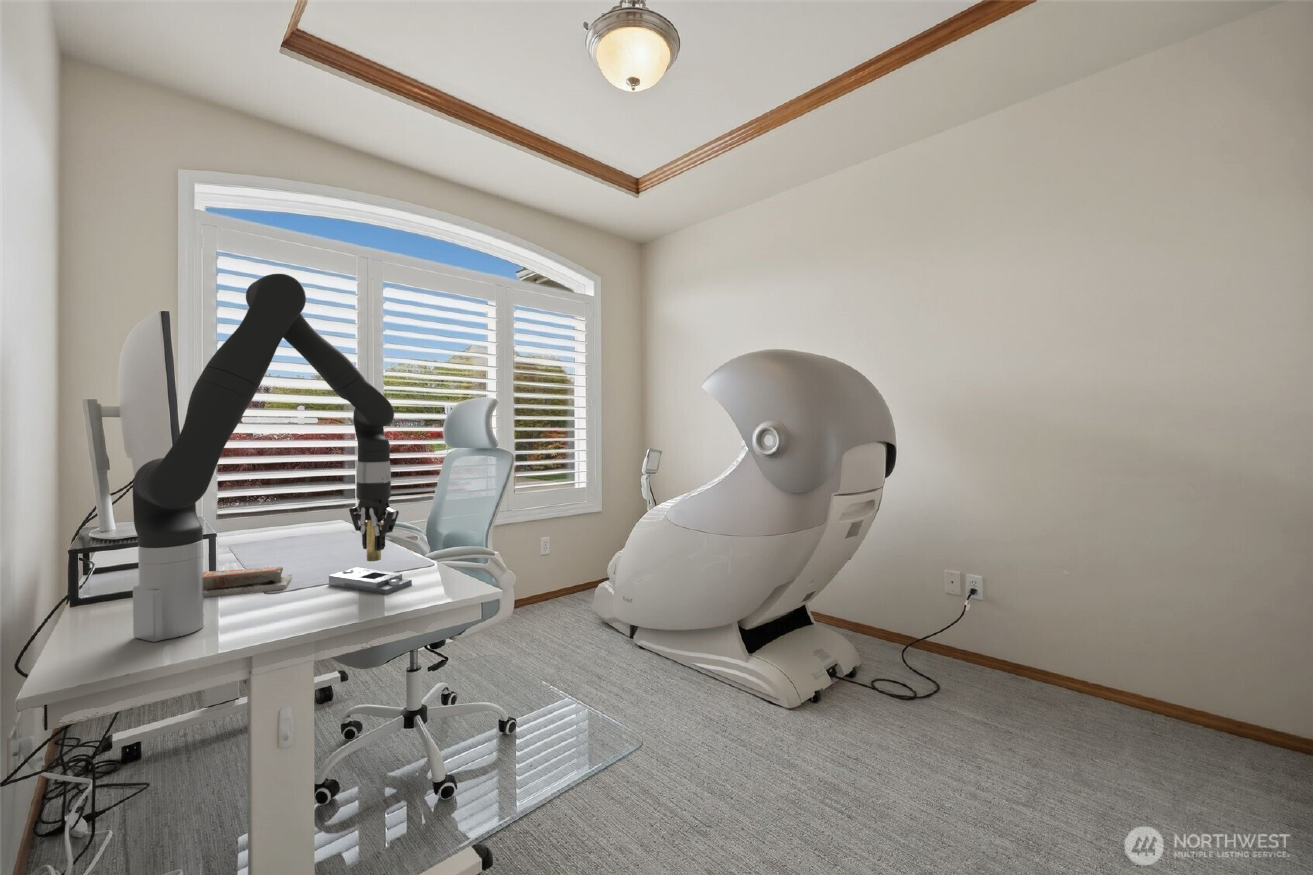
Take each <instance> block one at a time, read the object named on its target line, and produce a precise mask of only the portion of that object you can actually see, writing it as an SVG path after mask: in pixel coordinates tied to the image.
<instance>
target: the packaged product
mask: <svg viewBox="0 0 1313 875" xmlns="http://www.w3.org/2000/svg"><path fill="white" fill-rule="evenodd" d="M283 570H284V567H282V566H271V567H258V568H255V567H254V568H253V567H252V568H241V569H240V568H239V569H227V570H224V569H223V570H214V571H213V570H212V571H210V570H209V571H203V598H209V597H210V598H211V597H220V596H230V595H242V594H252V593H253V594H254V593H263V592H271V591H272V592H273V591H280V590H286V588H287V587H288V586H289V584H290V583H291V581H292V579H293V574H288V575H282V573H283Z"/></svg>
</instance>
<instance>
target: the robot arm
mask: <svg viewBox="0 0 1313 875" xmlns="http://www.w3.org/2000/svg"><path fill="white" fill-rule="evenodd" d="M306 297H307V294H306V291H305V289H304V287H303V285H302V284H301V282H300V281H299V280H298V279H296V278H295V277H293V276H292V275H289V274H285V273H271V274H267V275H265V276H263V277H261V278H258V279H257V280H256V281H254V282H252V283H251V284H249V286H248V288H247V289H246V292H245V301H246V304H247V306H248V310H247V312H246V314H245V316H244V318H243V319H242V321H241V322H240V324H239V326H238V327H237V328H236V329H235V331H233V332H232V333H231V335H230V336H229V337H228V338H227V339H226V340H225V342H223V343H222V344H221V346H220V347H219V348H218V349H217V351H216V352H215V353H214V354H213V356H212V357H211V358H210V360H209V361H208V362H207V364H206V366H205V367H204V369H203V370H202V372H201V374H200V375H199V378H198V379H197V381H195V384H194V387H193V388H192V391H191V393H190V395H189V396H190V397H189V401H188V404H187V410H186V414H185V419H184V423H183V427H182V429H181V431H180V433H179V435H178V437H177V439H176V440H175V442H173V444H172V446H171V447H170V449H169V451H167V453H166V454H165V456H164V457H161V458H156V459H152V460H150V461H147V462H146V463H144V464H143V465H141V467H140V468H139V469H138V470H137V471H136V473H135V474H134V477H133V481H132V508H133V509H132V510H133V511H132V512H133V524H134V529H135V533H136V534H137V535H136V536H137V545H138V546H137V547H138V548H137V549H138V550H137V554H138V555H137V556H138V557H137V558H138V559H137V560H138V562H137V563H138V585H134V586H133V587H132V617H133V618H132V619H133V621H132V623H133V624H132V627H133V629H132V631H133V632H132V633H133V636H132V637H133V638H134V639H135V638H136V639H140V640H144V641H148V642H152V643H155V642H158V641H163V640H168V639H174V638H175V639H176V638H179V636H180V637H184V636H187V635H189V634H192V633H195V632H197V631H199V630H201V629H202V628H203V627H204V625H205V622H204V619H205V618H204V615H205V614H204V597H203V572H204V538H203V537H204V531H203V525H202V524H201V522H200V520H199V517H198V514H197V509H196V508H197V506H196V503H197V502H198V501H199V500H200V499H201V498H202V497H203V496H204V495H205V494H206V492H207V490H208V488H209V487H210V486H209V485H210V483H211V482H212V479H213V476H214V473H215V470H216V469H217V468H216V467H218V466H217V465H218V463H219V460H220V458H221V456H222V454H223V450H224V449H225V446H226V445H227V443H228V441H229V440H230V438H231V436H232V435H233V433H234V431H235V430H236V428H237V427H238V424H239V422H240V421H241V419H242V417H243V416H244V414H245V412H246V410H247V408H248V407H249V405H250V404H251V402H252V400H253V399H254V397H255V395H256V393H257V392H258V389H260V388H259V387H260V385H261V384H262V381H263V379H264V378H265V375H266V373H267V371H268V368H270V365H271V363H272V361H273V358H274V356H275V353H276V351H277V349H278V347H279V345H280V344H281V341H282V340H283V339H284V341H286V342H287V343H288V344H289V345H290V346H291V347H293V349H295V350H296V352H297V353H298V354H299V355H301V357H302V358H304V359H305V360H306V362H307V363H309V365H310V366H311V367H312V368H313V369H314V370H315V371H316V372H317V373H318V375H319V376H320V377H321V378H322V380H324V381H325V383H326V384H327V385H328V386H329V387H330V388H331V389H332V390H333V391H334V393H335V394H336V395H337V396H338V397H340V398H341V399H343V400H345V401H347V402H349V403H350V405H351V406H352V407H353V408H354V409H353V416H352V418H353V425H354V430H355V431H354V432H355V436H356V441H357V465H356V466H357V467H356V473H355V474H356V482H355V483H356V487H355V488H356V489H355V490H356V494H355V495H356V499H357V500H358V501H359V502H358V504H357V506H354V507H353V506H352V507H350V508H349V509H348V511H349V515H350V518H351V520H352V524H353V527H354V530H355V531H356V532H358V531H359V532H360V534H361V535H362V536H361V538H362V539H361V540H362V541H361V542H362V543H361V544H362V548H363V550H367V520H372V525H373V527H374V528H375V534H376V536H375V550H376V551H380V550H381V551H383V550H384V549H385V547H386V535H387V534H388V533H392V532H393V531H394V529H395V525H396V522H397V519H398V516H399V513H400V512H399V510H397V509H395V510H394V509H392V508H391V506H390V503H389V500H390V498H391V497H392V486H391V485H392V481H391V480H392V470H391V469H392V468H391V454H390V452H391V450H390V449H391V446H390V441H389V439H387V437H386V436H385V430H384V427H386V426H388V425H390V424H391V423H392V421H393V420H394V417H395V410H394V408H393V406H392V404H391V402H390V401H389V399H387V398H386V397H385V395H383V394H382V393H381V392H380V391H379V389H377V388H376V387H374V386H373V385H372V384H371V383H370V382H369V381H367V379H365V377H364V376H363V375H362V373H361V372H360V371H359V369H358V368H357V367H356V366H355V365H354V364H353V362H352V361H351V360H350V359H349V358H348V357H347V356H346V354H344V353H343V352H341V351H340V350H339V348H337V347H335V345H333V344H332V343H331V342H329V340H327V339H325V338H324V337H323V336H322V335H321V334H320V333H319V332H317V331H316V330H315V328H313V327H312V325H311V324H310V323H309V322H308V321H307V319H306V318H305V317H304V315H303V313H302V312H303V311H304V308H305V306H306V301H307V298H306ZM378 521H381V522H379V523H378ZM380 525H381V530H380Z"/></svg>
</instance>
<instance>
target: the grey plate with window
mask: <svg viewBox="0 0 1313 875" xmlns="http://www.w3.org/2000/svg"><path fill="white" fill-rule="evenodd" d="M328 585H329V586H332V587H339V588H345V589H351V590H357V591H362V592H363V591H364V592H369V593H375V592H377V594H381V593H382V595H383V594H384V595H388V593H389V594H390V592H391V593H393V592H396V591H400V590H402V589H404V588H407V587H409V585H410V586H412V585H413V582H412V579H408V578H403V573H400V572H392V571H386V570H384V571H383V570H378V569H370V568H365V567H364V568H363V567H357V566H356V567H353V568H349V569H347V570H343V571H340V572H336V573H333V574H329V575H328Z"/></svg>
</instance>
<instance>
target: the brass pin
mask: <svg viewBox="0 0 1313 875" xmlns="http://www.w3.org/2000/svg"><path fill="white" fill-rule="evenodd" d="M379 522H381V521H378V523H379ZM380 530H381V525H380ZM375 536H376V534H375V528H374V527H373V525H372V520H367V549H366V562H378V561H380V560H382V550H380V551H376V550H375Z"/></svg>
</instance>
